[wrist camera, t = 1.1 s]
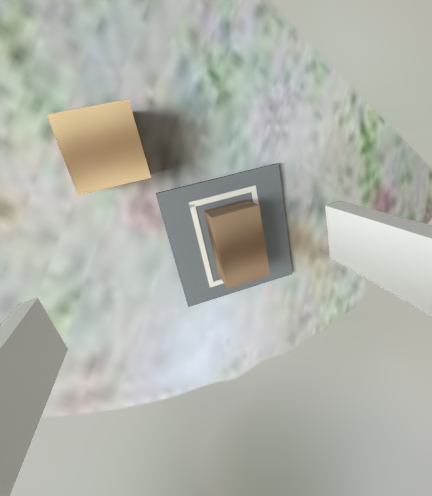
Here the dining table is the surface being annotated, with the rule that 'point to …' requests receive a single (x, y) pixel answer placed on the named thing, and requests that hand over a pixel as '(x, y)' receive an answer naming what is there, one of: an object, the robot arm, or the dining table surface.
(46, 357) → the robot arm
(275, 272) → the mat
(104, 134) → the oak block
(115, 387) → the dining table surface
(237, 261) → the base block
